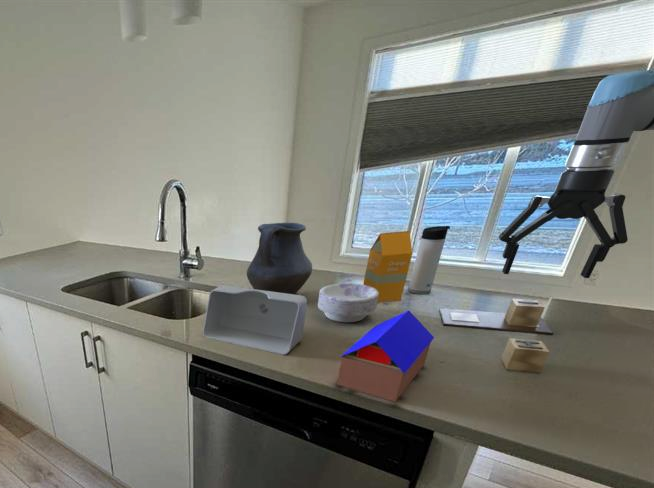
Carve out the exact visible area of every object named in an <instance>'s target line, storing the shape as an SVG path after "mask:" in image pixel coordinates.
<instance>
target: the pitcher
mask: <svg viewBox="0 0 654 488" xmlns="http://www.w3.org/2000/svg"><path fill="white" fill-rule="evenodd" d="M257 230H258V232H259V233H260V236H259V240H258V247H257V250H256V253H255V254H254V257H253V258H252V260H251V262H250V264H249V266H248V267H247V270H246V276H247V280H248V282H249V284H250V285H251V287H252V289H256V290H264V291H271V292H279V293H286V294H294V295H297V293H298V292H299V291H300V290H302V288H303V286H304V285H305V284H306V282H307V281H308V280H309V278H310V277H311V275H312V272H313V263H312V262H311V260H310V259H309V257H308V256H307V254H306V253H305V250H304V247H303V242H302V239H301V233H303V232H304V231H306V230H307V227H306V225H304V224H303V223H298V222H274V223H273V222H272V223H262V224H260V225H258V227H257Z"/></svg>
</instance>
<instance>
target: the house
mask: <svg viewBox="0 0 654 488" xmlns="http://www.w3.org/2000/svg"><path fill="white" fill-rule="evenodd" d="M434 338H435V336H434V335H433V334H432V333H431V332H430V331H429V330H428V329H427V328H426V327H425V326H424V324H422V323H421V322H420V320H419V319H418V318H417V317H416V316H415V315H414V314H413V313H412V312H411V311H410V310H406V311H404V312H402V313H400V314H397V315H396V316H394V317H391V318H389V319H387V320H385V321H383V322H380V323H378V324H375V325H374V326H373V327H372V328H371V329H370V330H368V331H367V332H366V333H365V334H364V335H363V336H362V337H361V338H360V339H359V340H357V341H356V342H355V343H354V344H353V345H352V346H350V347H349V348H348V349H347V350H346V351H344V352H343V353H342V355H340V356H339V357H340V358H341V360H340V366H339V370H338V376H337V382H336V385H337V386H341V387H344V388H347V389H350V390H354V391H357V392H361V393H364V394H368V395H372V396H374V397H377V398H381V399H384V400H387V401H391V402H396V401H397V400H398V399H399V398H400V397H401V395H402V394H403V392H404V391H405V390H406V389H407V387H408V386H409V385H410V384H411V382H412V381H413V380H414V378H415V377H416V376H417V375H418V373H419V372H420V370H421V369H422V368H423V367H424V366H425V363H426V359H427V356H428V353H429V349H430V346H431V343H432V342H433V341H434Z"/></svg>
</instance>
